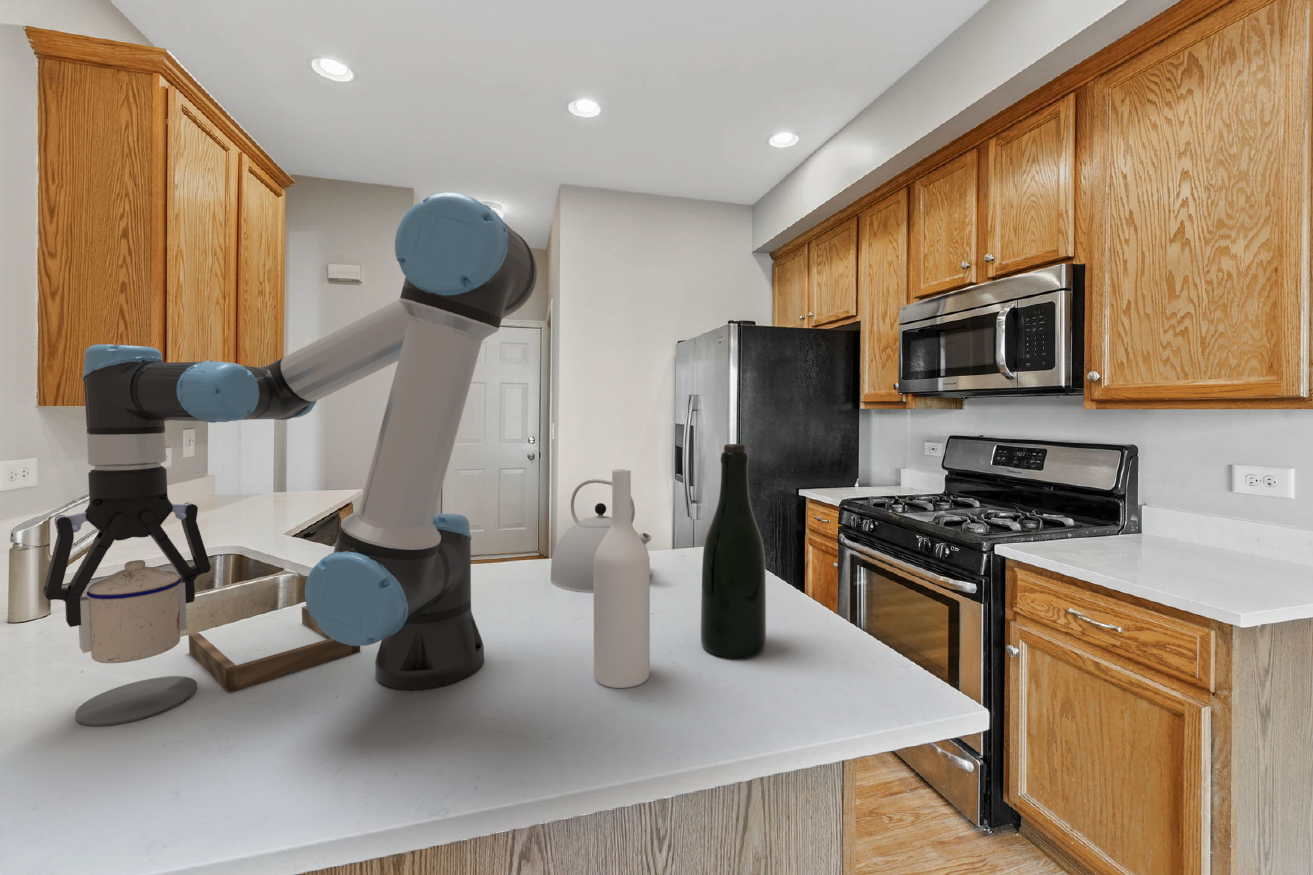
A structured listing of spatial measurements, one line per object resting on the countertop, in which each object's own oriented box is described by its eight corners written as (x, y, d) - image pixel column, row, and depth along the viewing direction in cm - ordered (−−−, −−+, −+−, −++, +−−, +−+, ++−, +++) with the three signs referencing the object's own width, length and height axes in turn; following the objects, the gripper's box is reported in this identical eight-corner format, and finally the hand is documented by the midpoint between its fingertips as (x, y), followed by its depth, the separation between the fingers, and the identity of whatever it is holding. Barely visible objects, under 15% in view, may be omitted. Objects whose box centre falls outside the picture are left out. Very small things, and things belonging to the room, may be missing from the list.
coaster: (208, 698, 78) (208, 694, 78) (83, 737, 69) (83, 732, 69) (184, 672, 86) (184, 668, 86) (69, 704, 77) (68, 700, 77)
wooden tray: (360, 651, 93) (359, 632, 93) (229, 692, 80) (228, 670, 80) (309, 621, 106) (308, 605, 106) (189, 652, 93) (188, 634, 92)
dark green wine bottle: (687, 646, 95) (688, 444, 94) (727, 629, 103) (728, 441, 101) (739, 666, 88) (741, 447, 86) (778, 646, 95) (781, 444, 94)
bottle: (638, 659, 90) (638, 465, 89) (657, 682, 83) (658, 471, 81) (587, 668, 87) (586, 467, 86) (602, 692, 80) (601, 473, 78)
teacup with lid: (199, 641, 79) (197, 556, 79) (120, 670, 70) (117, 574, 70) (138, 630, 83) (135, 548, 82) (55, 655, 74) (52, 564, 74)
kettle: (677, 574, 136) (677, 478, 135) (620, 602, 117) (620, 490, 116) (592, 559, 150) (592, 471, 148) (529, 582, 131) (527, 481, 129)
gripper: (220, 459, 86) (224, 609, 88) (1, 470, 70) (11, 656, 71) (236, 462, 82) (241, 621, 83) (6, 476, 65) (16, 674, 66)
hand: (135, 637), depth 77 cm, fingers closed on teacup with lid, 9 cm apart
